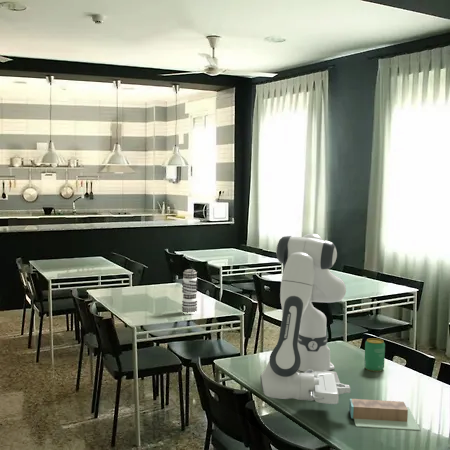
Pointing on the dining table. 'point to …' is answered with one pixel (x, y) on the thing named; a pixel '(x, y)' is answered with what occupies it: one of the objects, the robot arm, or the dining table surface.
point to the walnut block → (378, 410)
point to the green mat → (389, 423)
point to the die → (334, 375)
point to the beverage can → (374, 354)
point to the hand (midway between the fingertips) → (350, 388)
